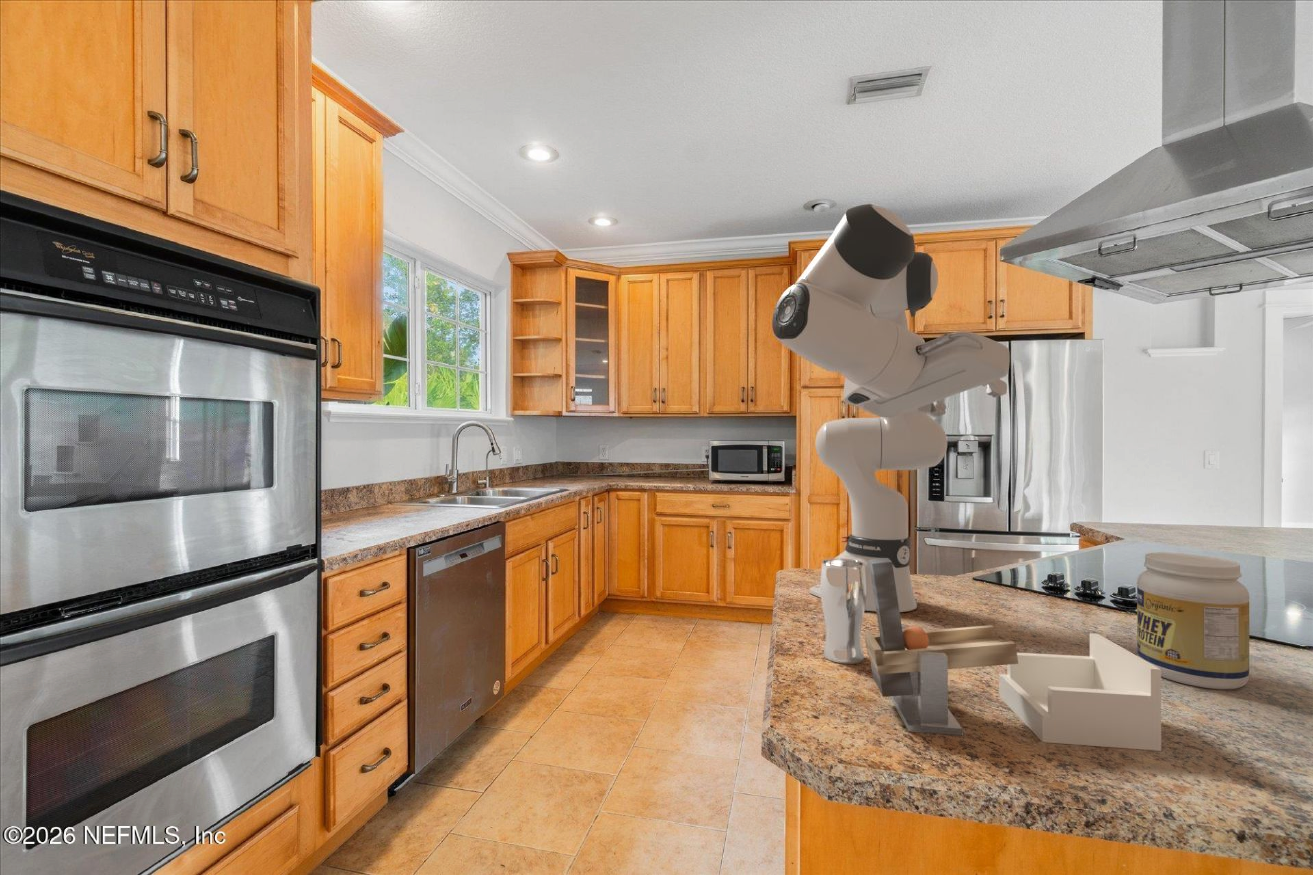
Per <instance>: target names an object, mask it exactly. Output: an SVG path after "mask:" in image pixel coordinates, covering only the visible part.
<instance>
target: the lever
mask: <svg viewBox="0 0 1313 875" xmlns="http://www.w3.org/2000/svg"><path fill="white" fill-rule="evenodd" d="M869 566H870V572H871V579H872V586H873V592H874V599H875V606H876V611H875V612H876V618H877V624H878V631H879V634H873V633H872V631H870V630H868V631H867V630H866V631H864V632H863V633H864V638H865V639H864V640H865V645H866V646H865V647H866V652H867V656H868V657H869V659H870V664H871V666H870V667H871V672H872V673H871V674H872V678H873V680H874V681H875V684H876V686H877V689H878V690H879V692H880V694H881V696H882V697H883V698H884V697H890V696H903V695H913V689H912V682H911V676H910V672H916V671H918V652H936V653H945V654H946V655H947V657H948V670H952V669H968V668H979V667H980V668H981V667H992V666H993V667H995V666H1007V665H1009V664H1018V658H1017V653H1018V652H1017V645H1016V643H1015V642H1014V641H1011V640H1010V641H1001V640H999V639H998V638H997V637H996V631H995V630H996V629H995V626H993V625H991V624H990V625H987V624H986V625H979V626H977V625H976V626H975V625H974V626H967V627H966V626H965V627H964V626H963V627H955V628H953V627H951V628H942V629H932V630H930V629H929V630H924V631H925V632H926V634H927V635H928V638H929V645H928V647H927V648H923V649H911V650H907V649H906V648H905V644H904V638H903V631H902V626H903V624H902V618H901V612H900V611H899V605H898V598H897V592H896V585H895V578H894V572H893V565H892V561H891V560H889V559H888V558H882V559H872V560H869Z"/></svg>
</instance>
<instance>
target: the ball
mask: <svg viewBox="0 0 1313 875" xmlns="http://www.w3.org/2000/svg"><path fill="white" fill-rule="evenodd" d="M919 627H920V626H911V627H908V628H906V629H905V630H904V631H903V638H904V644H905V648H906V649H907V650H911V649H923V648H927V647H928V645H929V638H928V635H927V634H926V632H925V631H926V630H924V628H923V629H921V628H919Z"/></svg>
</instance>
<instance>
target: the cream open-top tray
mask: <svg viewBox="0 0 1313 875" xmlns="http://www.w3.org/2000/svg"><path fill="white" fill-rule="evenodd" d="M1017 658H1018V664H1009V665H1006V674H1005V673H1001V674H1000V673H998V685H999V686H998V697H999V698H1000V700H1001V701H1003V702H1004V703H1005V705H1007V707H1008V708H1009V709H1011V711H1012V712H1014V714H1015V715H1016V716H1017V717H1018V718H1019V719H1020V720H1021V721H1022V723H1024V724H1025V725H1026V726H1027V727H1028V728H1029V730H1030V731H1032V732H1033V734H1034V735H1035V736H1036V737H1037V738H1038V739H1039V740H1040V741H1041V742H1042V743H1046V744H1047V743H1049V744H1050V743H1051V744H1065V745H1078V746H1088V747H1089V746H1091V747H1092V746H1093V747H1103V748H1104V747H1105V748H1115V749H1116V748H1118V749H1131V750H1141V751H1142V750H1145V751H1158V752H1161V751H1162V677H1161V669H1159V668H1157V667H1156V666H1154V665H1152V664H1150V663H1149V662H1147V661H1145V660H1143V659H1142V658H1140V657H1138V656H1137V654H1134V653H1132V652H1131V651H1130V650H1128V649H1126V648H1124V647H1122V646H1120V645H1118V644H1117V643H1115V642H1113V641H1111V640H1109V639H1108V638H1106V637H1104V636H1103V635H1101V634H1099V633H1089V655H1069V654H1048V653H1035V652H1034V653H1029V652H1017Z"/></svg>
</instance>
